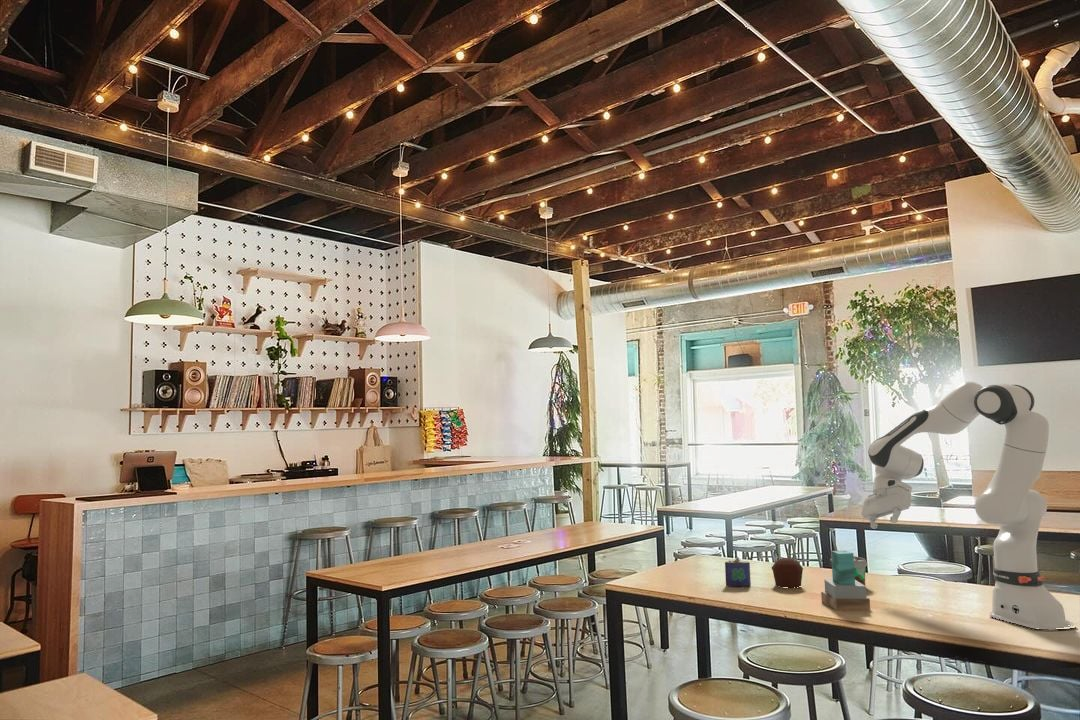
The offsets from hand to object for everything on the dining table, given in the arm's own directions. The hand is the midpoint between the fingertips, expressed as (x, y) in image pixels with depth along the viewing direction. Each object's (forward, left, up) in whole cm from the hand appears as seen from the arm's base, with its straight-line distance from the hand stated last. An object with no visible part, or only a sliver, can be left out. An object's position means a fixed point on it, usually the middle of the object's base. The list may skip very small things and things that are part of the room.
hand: (883, 525), depth 248 cm
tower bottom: (-8, +20, -25) cm, 33 cm away
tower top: (-8, +19, -21) cm, 30 cm away
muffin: (+23, +25, -25) cm, 42 cm away
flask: (+26, +43, -25) cm, 56 cm away
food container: (+18, 0, -25) cm, 30 cm away
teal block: (-8, +20, -17) cm, 27 cm away
